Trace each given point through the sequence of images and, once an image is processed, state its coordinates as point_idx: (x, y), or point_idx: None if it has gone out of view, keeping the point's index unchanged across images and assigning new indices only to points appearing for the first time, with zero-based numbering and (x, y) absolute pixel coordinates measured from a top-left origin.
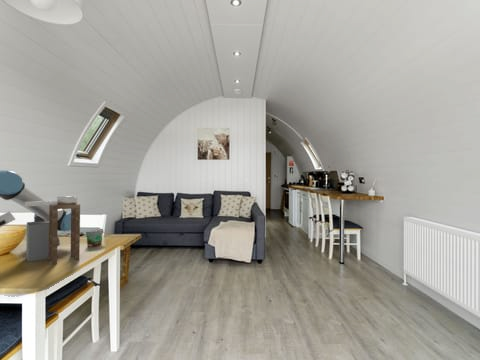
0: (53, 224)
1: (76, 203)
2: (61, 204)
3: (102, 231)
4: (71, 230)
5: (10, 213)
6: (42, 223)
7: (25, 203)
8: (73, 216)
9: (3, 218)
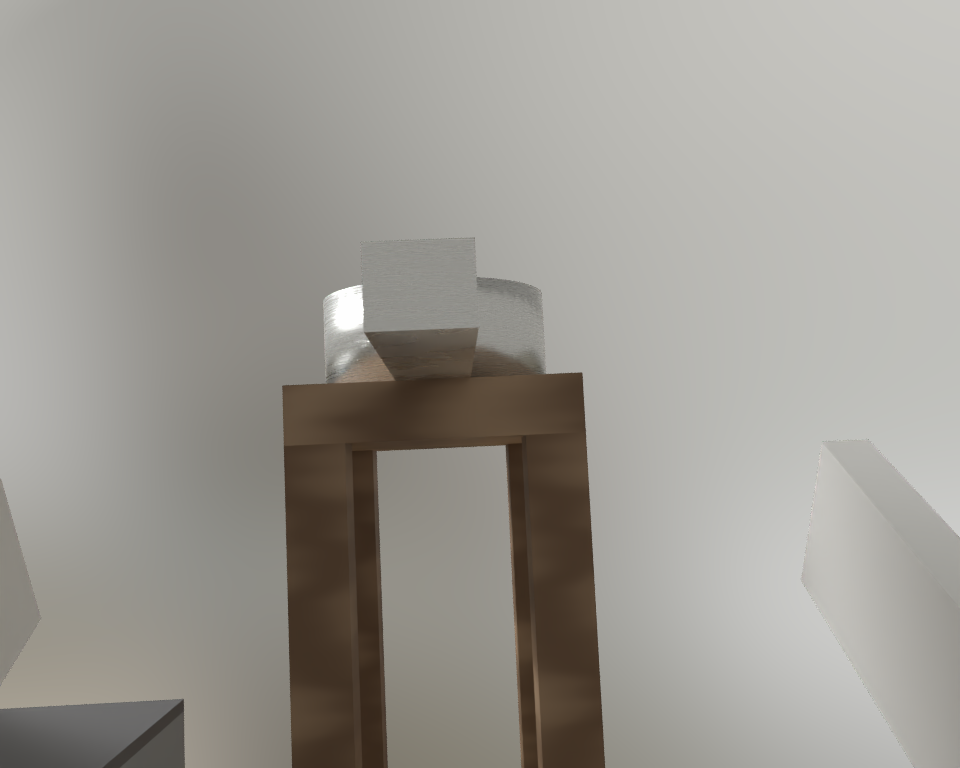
0: (598, 663)
1: None
2: None
3: None
4: (368, 761)
5: (10, 539)
6: (138, 743)
7: (474, 263)
8: (378, 571)
9: (930, 561)
